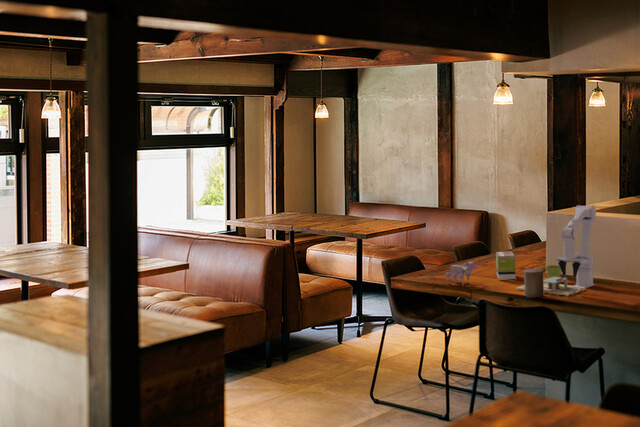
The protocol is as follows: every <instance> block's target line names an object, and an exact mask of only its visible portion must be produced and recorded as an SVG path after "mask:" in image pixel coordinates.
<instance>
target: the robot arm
mask: <svg viewBox="0 0 640 427" xmlns="http://www.w3.org/2000/svg"><path fill="white" fill-rule="evenodd" d="M596 209H597V208H596V207H595V206H594V205H576V206H575V208H574V217H573V218H571V219H570V220H569V222H568V223H567V225H566V226H565V227H563V228H562V230H561V238H562V242H563V256H557V257H555V261H556V262H557V265H559V266H560V268H561V274H562V276H566V275H567V263H572V264H571V266H572V275H573V277H576V284H574V285H573V286H581V287H585V289H588V288H590V287H593V286H595V285H596V284H595V283H594V272H593V268H594V266H595V265H594V264H595V262H594V259H595V258H594V256H593V255H592V254H591V253H590V244H591V233H592V227H593V223H594V222H596V217H597V216H596V215H597V210H596ZM581 224H582V225H581ZM581 226H582V227H581ZM580 227H581V235H580V244H579V252H577V253H576V238H577V235H578V230H579V228H580Z"/></svg>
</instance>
